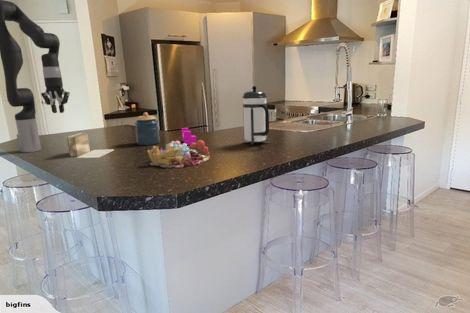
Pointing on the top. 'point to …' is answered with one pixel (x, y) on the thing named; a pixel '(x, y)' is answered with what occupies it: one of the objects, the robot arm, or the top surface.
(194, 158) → the candy landscape model
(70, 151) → the birch tile
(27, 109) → the robot arm
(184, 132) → the toy block
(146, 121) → the canister
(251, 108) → the coffee press
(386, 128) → the top surface
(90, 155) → the mat
